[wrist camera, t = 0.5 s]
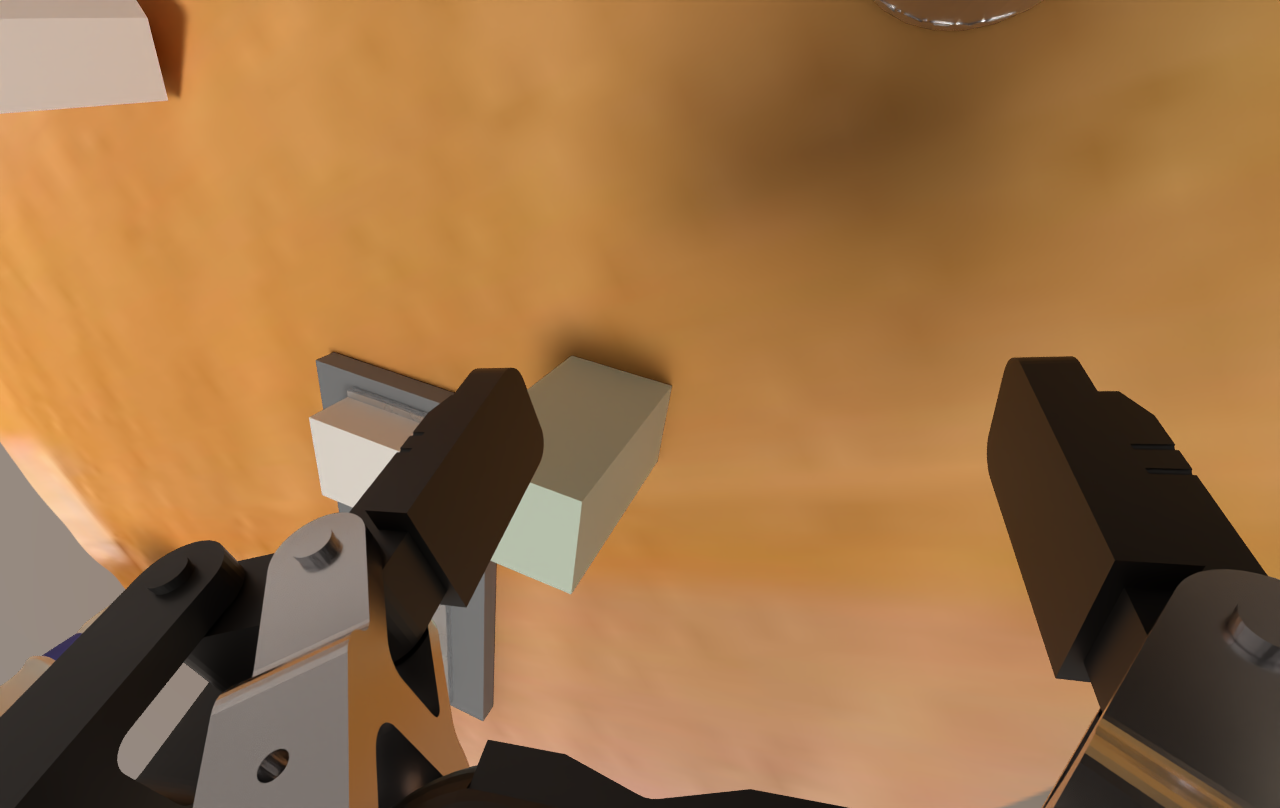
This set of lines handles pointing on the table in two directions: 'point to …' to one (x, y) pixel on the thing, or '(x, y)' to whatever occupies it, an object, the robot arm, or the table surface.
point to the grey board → (478, 619)
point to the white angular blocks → (76, 55)
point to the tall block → (583, 468)
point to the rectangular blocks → (356, 450)
